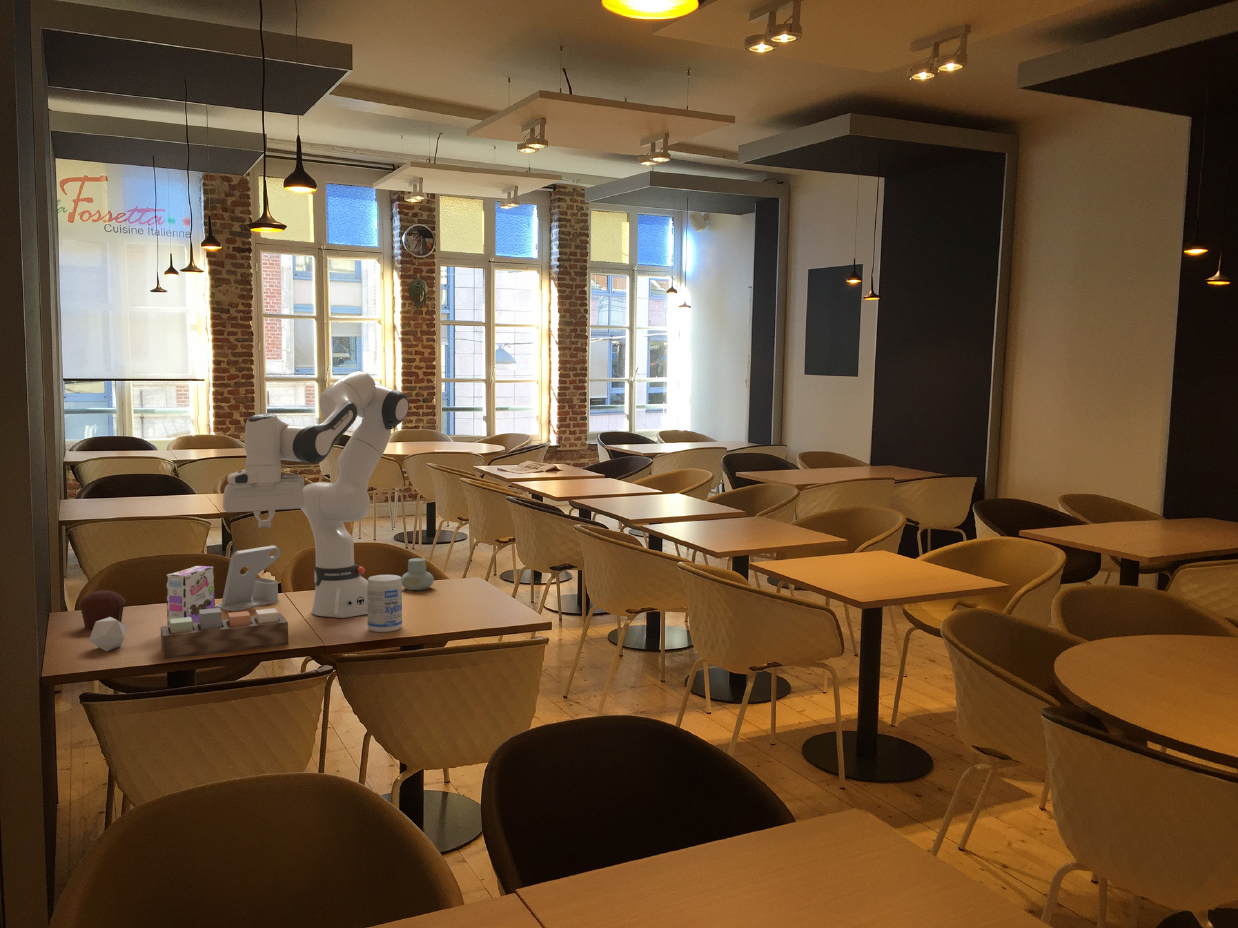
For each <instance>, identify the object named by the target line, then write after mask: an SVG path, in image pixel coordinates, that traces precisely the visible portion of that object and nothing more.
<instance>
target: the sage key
mask: <svg viewBox="0 0 1238 928" xmlns="http://www.w3.org/2000/svg"><path fill="white" fill-rule="evenodd" d="M185 631H193V622H192V619H191V617H185V618H175V619H170V633H176V632H185Z"/></svg>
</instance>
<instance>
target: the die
mask: <svg viewBox="0 0 1238 928" xmlns="http://www.w3.org/2000/svg"><path fill="white" fill-rule="evenodd" d="M127 631H128V626H126V625H125V624H124V623H122V621H121V622H119V621H118V620H116V619H114V618H112V617H108V618H105V619H102V620H99V621H96V622H95V625H94V627H93V630H91V633H90V636H89V639H88V642H89V643H92V644H93V645H94V646H96V647H97V648H100V649H101V650H103V651H105V652H109V651H112V650H115V649H117V648H120V647H121V646H122V645H123V643H124V639H125V638H126V634H127Z"/></svg>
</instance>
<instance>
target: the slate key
mask: <svg viewBox="0 0 1238 928" xmlns="http://www.w3.org/2000/svg"><path fill="white" fill-rule="evenodd" d="M222 612H223V611H222V609H220V608H216V607H215V608H211V609H202V610H199V629H200V630H203V629H213V628H222V620H223V614H222Z"/></svg>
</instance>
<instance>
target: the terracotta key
mask: <svg viewBox="0 0 1238 928" xmlns="http://www.w3.org/2000/svg"><path fill="white" fill-rule="evenodd" d="M250 617H251V614H250V612H249V610H245V611H243V610H242V611H232V612H227V619H228V627H231V626H240V625H249V624H251V618H250Z"/></svg>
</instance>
